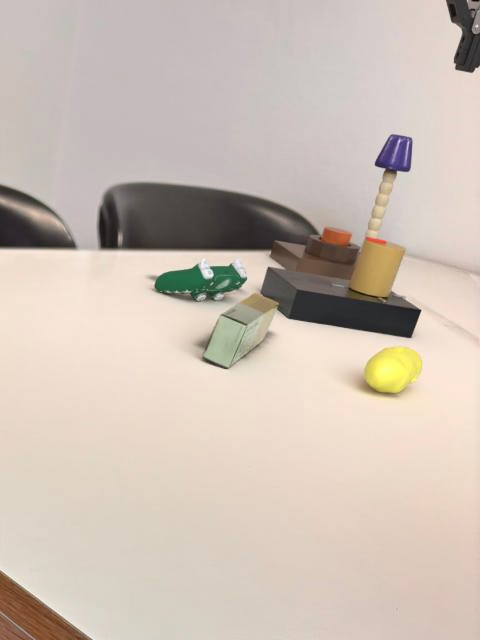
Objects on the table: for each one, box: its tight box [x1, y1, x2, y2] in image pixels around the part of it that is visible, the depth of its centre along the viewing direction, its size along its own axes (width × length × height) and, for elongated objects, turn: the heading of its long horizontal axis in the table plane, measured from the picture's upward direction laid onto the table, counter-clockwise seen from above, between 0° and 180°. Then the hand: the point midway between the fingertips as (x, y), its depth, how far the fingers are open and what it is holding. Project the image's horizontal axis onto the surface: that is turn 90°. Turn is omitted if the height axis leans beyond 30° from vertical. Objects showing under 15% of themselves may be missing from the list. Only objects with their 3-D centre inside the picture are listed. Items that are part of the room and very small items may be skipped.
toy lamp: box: [358, 133, 414, 255], centre depth 144 cm, size 5×5×17 cm
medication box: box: [201, 292, 279, 370], centre depth 94 cm, size 12×3×4 cm, turn 154°
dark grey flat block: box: [259, 266, 422, 339], centre depth 116 cm, size 14×10×3 cm
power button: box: [321, 226, 353, 246], centre depth 136 cm, size 4×4×2 cm
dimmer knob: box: [349, 237, 407, 297], centre depth 114 cm, size 4×4×5 cm
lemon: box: [363, 345, 423, 394], centre depth 92 cm, size 4×8×4 cm, turn 137°
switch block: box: [269, 234, 362, 280], centre depth 137 cm, size 12×10×4 cm
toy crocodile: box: [153, 257, 248, 302], centre depth 111 cm, size 9×4×6 cm
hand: (464, 71), depth 125 cm, fingers closed
